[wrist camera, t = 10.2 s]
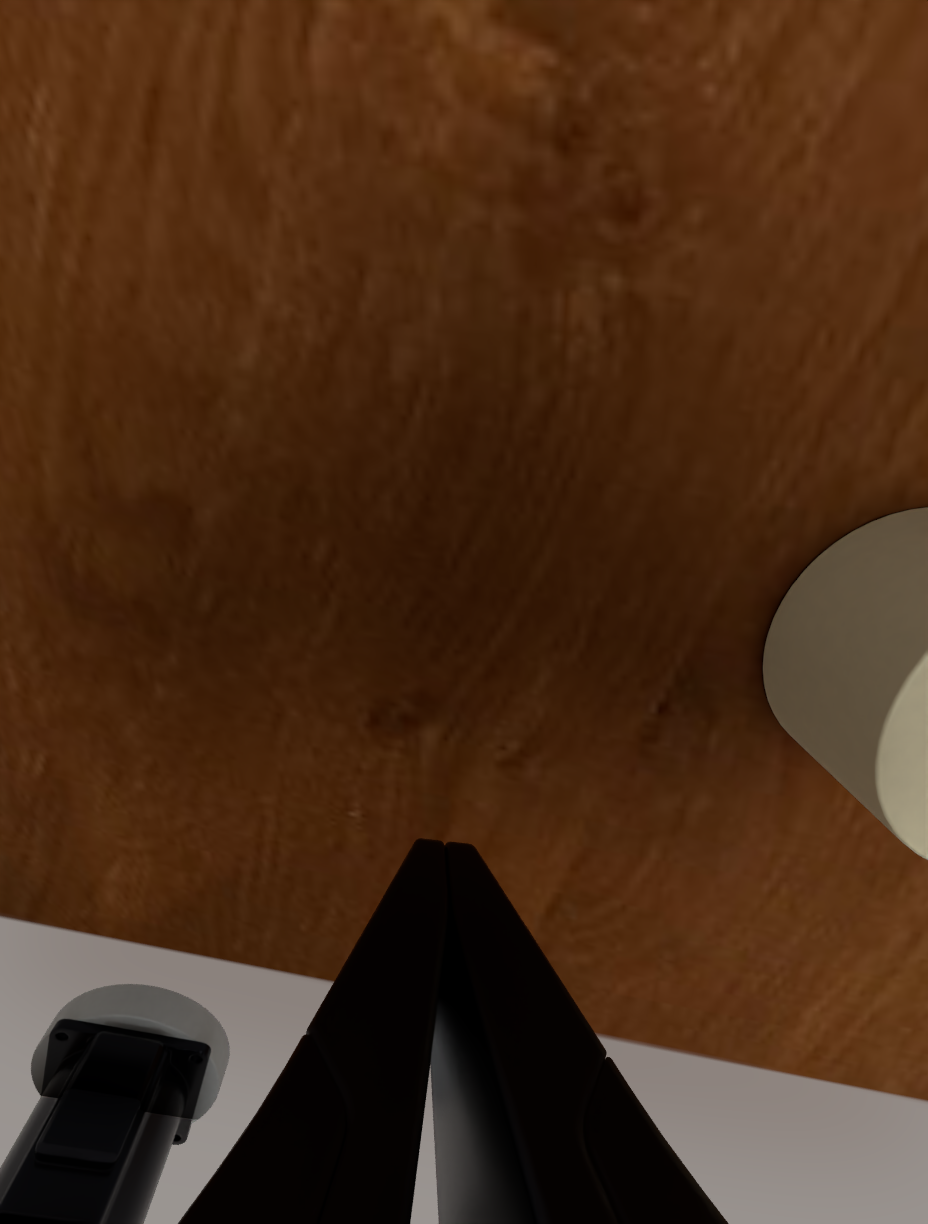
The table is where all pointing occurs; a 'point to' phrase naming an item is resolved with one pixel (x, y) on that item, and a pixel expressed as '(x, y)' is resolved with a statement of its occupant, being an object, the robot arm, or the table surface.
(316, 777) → the table surface
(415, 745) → the table surface
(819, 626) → the tape
